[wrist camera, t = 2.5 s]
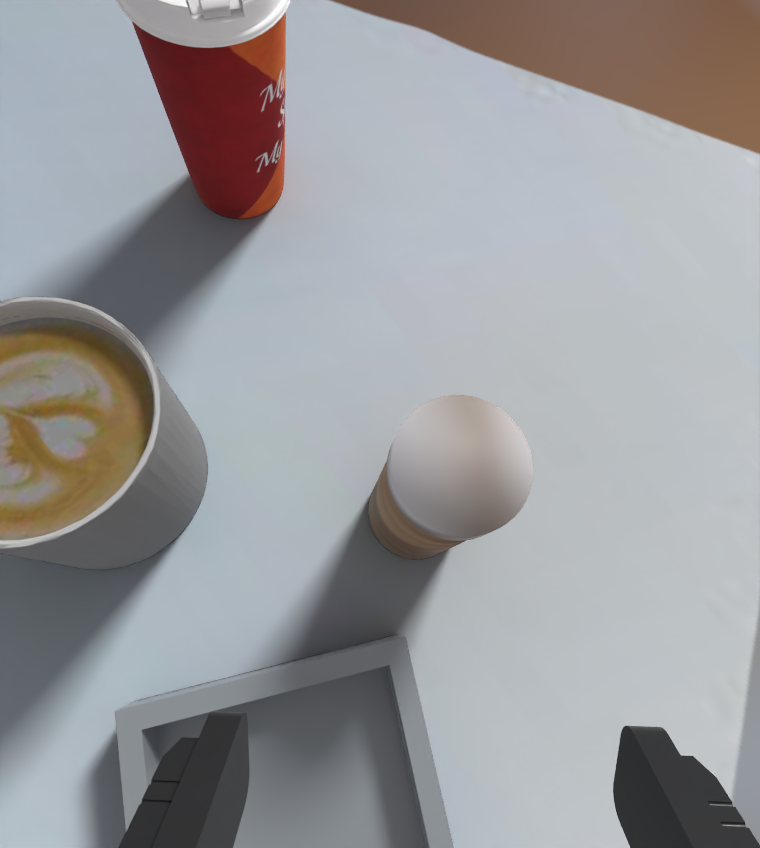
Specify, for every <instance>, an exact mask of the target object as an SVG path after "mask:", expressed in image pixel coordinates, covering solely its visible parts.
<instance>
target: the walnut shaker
mask: <svg viewBox="0 0 760 848" xmlns="http://www.w3.org/2000/svg"><path fill="white" fill-rule="evenodd" d="M532 480H533V461H532V455H531V451H530V448H529V445H528V443H527V440H526V438H525V436H524V434H523V433H522V431H521V430H520V428H519V427H518V425H517V424H516V423H515V422H514V421H513V420H512V418H511V417H510V416H508V415H507V414H506V413H505V412H504V411H502V410H501V409H500V408H498V407H497V406H495V405H493V404H491V403H489V402H487V401H485V400H482V399H479V398H475V397H472V396H465V395H450V396H443V397H439V398H435V399H433V400H430V401H428V402H426V403H424V404H423V405H421V406H419V407H418V408H417V409H415V410H414V411H413V412H412V413H411V414H410V415H409V416H408V417H407V418H406V419H405V421H404V422H403V423H402V425H401V426H400V428H399V430H398V432H397V434H396V436H395V438H394V440H393V443H392V445H391V448H390V450H389V454H388V458H387V462H386V464H385V466H384V468H383V470H382V472H381V474H380V476H379V479H378V481H377V483H376V485H375V487H374V489H373V492H372V494H371V497H370V501H369V508H368V511H369V521H370V524H371V528H372V530H373V532H374V534H375V536H376V537H377V539H378V540H379V541H380V543H381V544H382V545H383V546H384V547H385V548H387V549H388V550H389V551H391V552H392V553H394V554H396V555H398V556H401V557H404V558H408V559H425V558H429V557H432V556H435V555H437V554H439V553H441V552H443V551H445V550H447V549H450V548H452V547H454V546H456V545H458V544H460V543H462V542H464V541H466V540H470V539H474V538H478V537H481V536H483V535H485V534H487V533H490V532H492V531H494V530H496V529H498V528H500V527H502V526H503V525H505V524H506V523H508V522H509V521H510V520H511V519H513V518H514V517H515V516H516V514H517V513H518V512H519V511H520V510H521V508H522V507H523V505H524V503H525V502H526V500H527V497H528V495H529V493H530V489H531V486H532Z"/></svg>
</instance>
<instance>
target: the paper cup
mask: <svg viewBox="0 0 760 848" xmlns="http://www.w3.org/2000/svg"><path fill="white" fill-rule="evenodd" d="M290 1H291V0H117V2H118V4H119V6H120V7H121V9H122V11H123V12H124V13H125V14H126V15H127V16H128V17H129V19H130V20H131V21H132V23H133V25H134V28H135V31H136V33H137V36H138V39H139V41H140V44H141V47H142V49H143V52H144V55H145V57H146V60H147V63H148V65H149V68H150V71H151V73H152V76H153V79H154V81H155V84H156V87H157V89H158V92H159V95H160V97H161V100H162V103H163V105H164V108H165V111H166V113H167V116H168V119H169V121H170V124H171V127H172V129H173V132H174V135H175V137H176V140H177V143H178V145H179V148H180V150H181V153H182V156H183V158H184V161H185V163H186V166H187V169H188V171H189V174H190V176H191V179H192V181H193V184H194V186H195V188H196V190H197V193H198V195H199V197H200V198H201V200H202V201H203V202H204V204H205V205H206V206H207V207H208V208H210V209H211V210H212V211H214V212H215V213H217V214H219V215H222V216H225V217H229V218H234V219H246V218H252V217H256V216H259V215H261V214H263V213H265V212H267V211H268V210H270V209H271V208H272V207H273V206H274V205H275V204H276V203H277V201H278V200H279V198H280V196H281V194H282V190H283V184H284V161H285V34H286V11H287V9H288V6H289V4H290Z"/></svg>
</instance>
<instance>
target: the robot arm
mask: <svg viewBox="0 0 760 848" xmlns="http://www.w3.org/2000/svg"><path fill="white" fill-rule="evenodd" d="M249 773H250V769H249V742H248V719H247V714H246V713H245V712H222V711H211V712H210V713H209V715H208V717H207V719H206V722H205V724H204V726H203V729H202V731H201V734H200V736H199V738H188V737H182V738H181V739H180V740H179V741H178V742H177V743H176V744H175V745H174V746H173V747H172V748H171V749H170V750H169V751H168V752H167V753H166V754H165V755H164V756H163V757H162V759H161V761H160V763H159V765H158V767H157V769H156V771H155V773H154V775H153V777H152V779H151V784H150V785H149V786H148V788H147V790H146V792H145V794H144V796H143V798H142V802H141V804H139V806H138V808H137V810H136V813H135V815H134V817H133V819H132V821H131V823H130V825H129V827H128V829H127V831H126V833H125V835H124V837H123V839H122V842H121V844H120V846H119V848H233V846H234V843H235V839H236V835H237V832H238V828H239V825H240V821H241V818H242V814H243V811H244V807H245V803H246V799H247V793H248V786H249ZM613 793H614V802H615V808H616V812H617V815H618V818H619V821H620V824H621V826H622V828H623V831H624V833H625V836H626V838H627V841H628V843H629V845H630V848H760V845H759V843H758V842H757V840H756V839H755V837H754V836H753V834H752V832H751V831H750V829H749V828H746V826H745V822H744V820H743V818H742V817H741V815H740V814H739V813H738V811H737V809H736V807H733V805H732V801H731V800H730V798H729V797H728V795H727V793H726V792H725V790H724V789H723V787H722V786H721V784H720V782H719V781H718V779H717V778H716V777H715V776H714V775H713V774H712V773H711V772H710V771H709V770H707V769H706V768H705V767H704V766H703V765H702V764H701V763H700V762H699V761H698V760H696V759H695V758H694V757H693V756H681V755H680V754H679V752H678V750H677V749H676V747H675V745H674V744H673V742H672V740H671V739H670V737H669V735H668V734H667V732H666V731H665V730H664V729H663V728H661V727H641V726H625V727H624V728H623V729H622V732H621V738H620V744H619V751H618V758H617V764H616V771H615V777H614V785H613Z"/></svg>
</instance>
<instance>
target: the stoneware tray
mask: <svg viewBox="0 0 760 848" xmlns="http://www.w3.org/2000/svg"><path fill="white" fill-rule="evenodd" d="M211 711H222V712H245V713H246V714H247V719H248V742H249V769H250V773H249V786H248V793H247V799H246V803H245V807H244V811H243V814H242V818H241V821H240V825H239V828H238V832H237V835H236V839H235V843H234V846H233V848H454V847H453V843H452V839H451V834H450V830H449V825H448V821H447V817H446V812H445V808H444V804H443V799H442V795H441V790H440V786H439V782H438V777H437V773H436V769H435V764H434V760H433V755H432V751H431V747H430V742H429V738H428V734H427V729H426V725H425V720H424V716H423V712H422V707H421V703H420V699H419V694H418V690H417V685H416V681H415V677H414V672H413V668H412V664H411V659H410V655H409V650H408V646H407V642H406V637H403V636H400V635H394V636H390V637H386V638H382V639H378V640H374V641H370V642H366V643H362V644H358V645H354V646H350V647H346V648H342V649H338V650H334V651H330V652H326V653H323V654H319V655H315V656H311V657H307V658H303V659H299V660H295V661H291V662H287V663H283V664H279V665H275V666H271V667H267V668H263V669H259V670H255V671H251V672H247V673H243V674H239V675H236V676H232V677H228V678H224V679H220V680H216V681H212V682H208V683H204V684H200V685H196V686H192V687H188V688H184V689H180V690H176V691H172V692H168V693H164V694H160V695H156V696H153V697H149V698H145V699H141V700H137V701H134V702H132V703H130V704H128V705H126V706H124V707H122V708H120V709H118V710H116V711H115V719H116V730H117V740H118V751H119V762H120V773H121V784H122V795H123V806H124V817H125V827H126V831H127V829H128V827H129V825H130V823H131V821H132V819H133V817H134V815H135V813H136V810H137V808H138V806H139V804H141V802H142V798H143V796H144V794H145V792H146V790H147V788H148V786H149V785H150V784H151V779H152V777H153V775H154V773H155V771H156V769H157V767H158V765H159V763H160V761H161V759H162V757H163V756H164V755H165V754H166V753H167V752H168V751H169V750H170V749H171V748H172V747H173V746H174V745H175V744H176V743H177V742H178V741H179V740H180V739H181V738H182V737H188V738H199V736H200V734H201V731H202V729H203V726H204V724H205V722H206V719H207V717H208V715H209V713H210V712H211Z"/></svg>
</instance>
